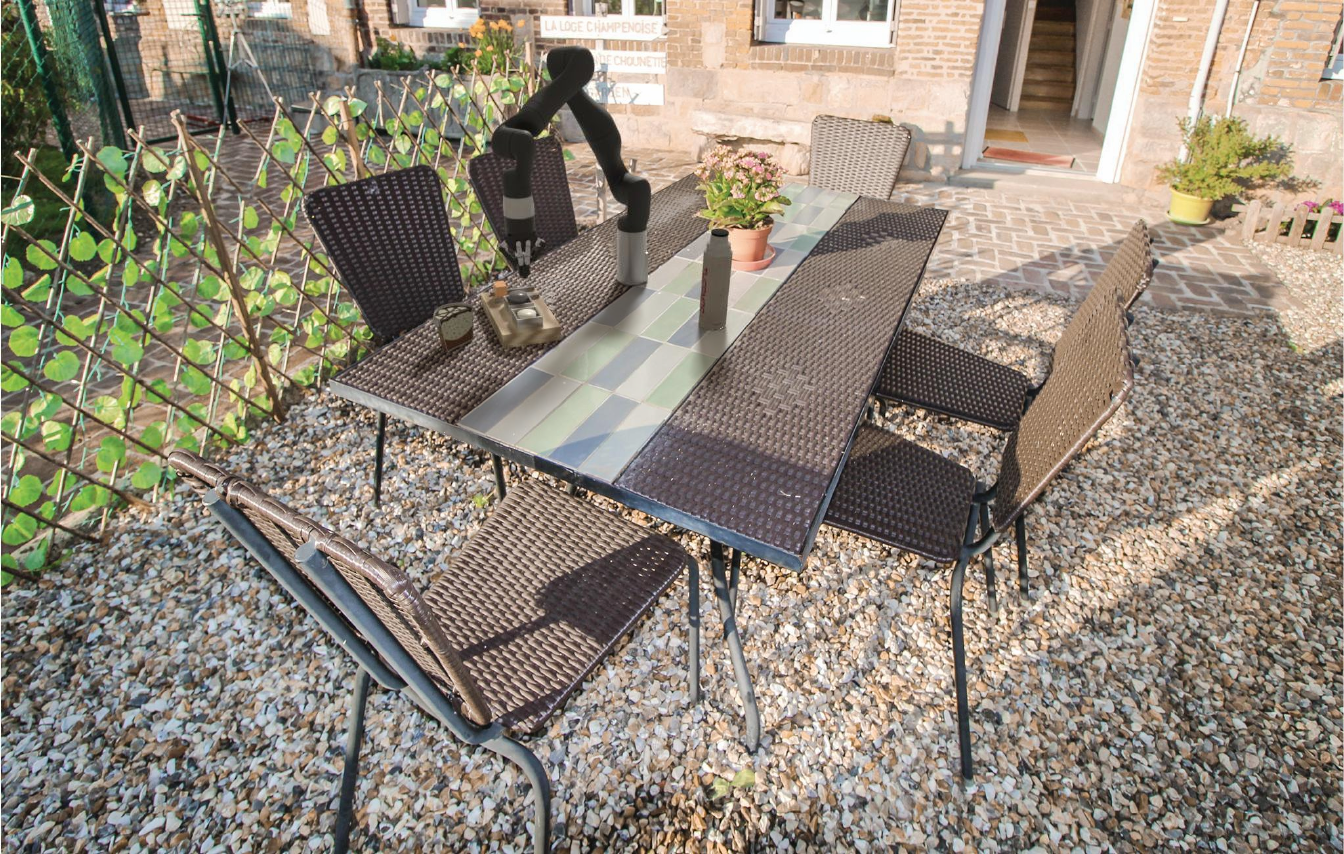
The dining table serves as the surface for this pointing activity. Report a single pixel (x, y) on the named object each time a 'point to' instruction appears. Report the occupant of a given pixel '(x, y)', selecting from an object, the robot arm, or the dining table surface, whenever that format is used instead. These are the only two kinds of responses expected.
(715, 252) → the thermos bottle
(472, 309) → the food container
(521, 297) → the charcoal button
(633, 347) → the dining table surface
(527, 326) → the board
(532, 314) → the cream button
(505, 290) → the slider knob
